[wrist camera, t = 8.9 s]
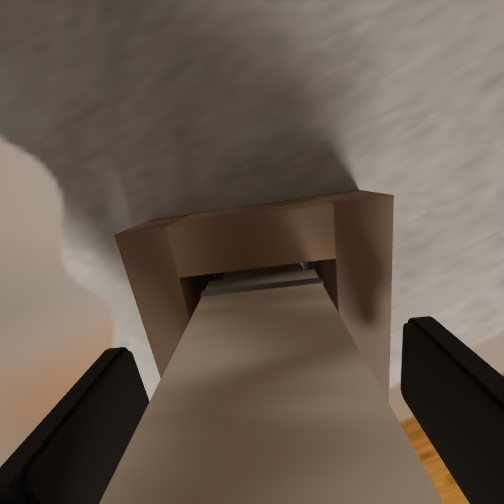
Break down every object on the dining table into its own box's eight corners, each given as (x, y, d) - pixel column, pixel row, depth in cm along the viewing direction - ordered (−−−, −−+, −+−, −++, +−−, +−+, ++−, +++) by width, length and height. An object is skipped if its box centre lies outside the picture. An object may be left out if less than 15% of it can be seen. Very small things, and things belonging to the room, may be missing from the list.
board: (359, 190, 11) (393, 195, 8) (362, 367, 14) (388, 416, 11) (150, 220, 12) (114, 235, 9) (194, 381, 15) (178, 431, 12)
